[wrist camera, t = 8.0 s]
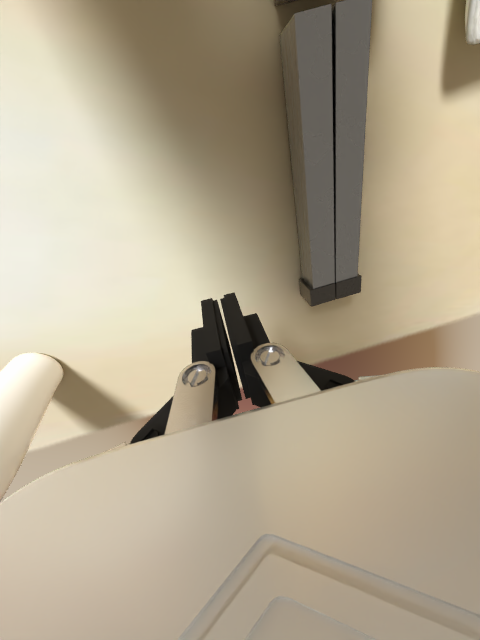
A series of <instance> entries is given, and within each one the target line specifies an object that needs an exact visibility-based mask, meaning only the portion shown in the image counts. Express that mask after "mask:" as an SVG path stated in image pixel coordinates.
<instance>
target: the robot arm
mask: <svg viewBox="0 0 480 640" xmlns="http://www.w3.org/2000/svg"><path fill="white" fill-rule="evenodd" d="M220 300H221V304H222V308H223V313H224V317H225V321H226V325H227V330H228V334H229V338H230V342H231V346H232V350H233V354H234V357H235V361H236V365H237V368H238V372H239V376H240V379H241V383H242V386H243V390H244V394H245V397H246V399H247V398H250V397H251V400H252V404H253V405H257V406H259V407H261V408H257V409H254V410H250V411H246V412H243V413H239V414H236V415H233V413H234V412H235V411H236V409H239V406H238V401H240V400H242V397H241V393H240V388H239V384H238V380H237V375H236V371H235V366H234V362H233V358H232V353H231V349H230V345H229V341H228V338H227V334H226V330H225V327H224V323H223V320H222V316H221V313H220V309H219V305H218V302H217V300H215V301H213V300H212V298H211V299H207V300H203V301H201V306H202V317H203V327H202V328H198V329H194V330H192V332H191V335H192V364H190V365H188V366H187V367H185V368H184V369H183V370H182V371H181V373H180V374H179V377H178V380H177V384H176V389H175V393H174V396H173V397H172V398H171V399H170V400H169V401H168V402H167V403H166V404H165V405H164V406H163V407H162V408H161V409H160V410H159V411H158V412H157V413H156V414H155V415H154V416H153V417H152V418H151V419H150V420H149V421H148V422H147V424H145V426H144V427H143V428H142V429H141V430H140V431H139V432H138V433H137V434H136V435H135V436H134V438H133V439H132V441H131V443H129V444H126V443H125V442H124V443H122V444H120V445H118V446H116V447H114V448H112V449H109V450H107V451H105V452H104V453H101V454H97V455H94V456H91V457H88V458H85V459H82V460H79V461H76V462H73V463H71V464H68V465H66V466H64V467H61V468H58V469H56V470H54V471H52V472H50V473H48V474H46V475H44V476H42V477H40V478H38V479H36V480H34V481H33V482H31V483H29V484H27V485H26V486H24V487H23V488H21V489H19V490H18V491H16V492H15V493H13V494H12V495H10V496H9V497H8V498H6V499H5V500H4V501H2V502H1V503H0V640H480V372H478V371H474V370H468V369H461V368H443V367H434V368H418V369H411V370H404V371H398V372H394V373H390V374H385V375H379V376H364V377H359V380H355V381H354V380H353V379H351V378H349V377H347V376H344V375H341V374H338V373H335V372H331V371H328V370H325V369H322V368H318V367H315V366H312V365H309V364H305V363H302V362H299V361H296V359H295V358H294V357H293V356H292V355H291V353H290V352H289V351H288V350H287V348H285V347H284V346H283V345H281V344H278V343H270V341H269V339H268V337H267V335H266V333H265V331H264V328H263V326H262V324H261V322H260V320H259V317H258V315H257V314H256V313H255V314H251V315H248V316H244V317H243V315H242V312H241V309H240V306H239V304H238V301H237V298H236V295H235V293H230V294H226V295H224V298H223V299H220Z"/></svg>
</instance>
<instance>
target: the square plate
mask: <svg viewBox="0 0 480 640" xmlns="http://www.w3.org/2000/svg"><path fill="white" fill-rule="evenodd" d="M465 30H466V41H467V44H471V45H474V44H478V43H480V0H466V11H465Z"/></svg>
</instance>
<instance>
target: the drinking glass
mask: <svg viewBox="0 0 480 640" xmlns="http://www.w3.org/2000/svg"><path fill="white" fill-rule="evenodd" d="M62 378H63V369H62V367H61V365H60V364H59V363H58V362H57V361H56V360H55V359H53V358H52V357H50V356H47V355H44V354H40V353H24V354H21V355H18V356H16V357H14V358H13V359H12V360H11V361H10V362H9V363H8V364H7V365H6V366H5V367H4V368H3V369H2V370H1V371H0V501H1V500H2V498H3V496H4V495H5V493H6V491H7V490H8V488H9V486H10V484H11V483H12V481H13V479H14V477H15V475H16V473H17V471H18V469H19V468H20V466H21V464H22V461H23V459H24V457H25V455H26V453H27V451H28V449H29V447H30V444H31V442H32V440H33V438H34V436H35V433H36V431H37V429H38V427H39V425H40V422H41V420H42V418H43V416H44V414H45V412H46V410H47V407H48V405H49V403H50V401H51V399H52V397H53V395H54V393H55V390H56V389H57V387H58V385H59V384H60V382H61V380H62Z"/></svg>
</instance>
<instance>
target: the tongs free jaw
mask: <svg viewBox="0 0 480 640" xmlns="http://www.w3.org/2000/svg"><path fill="white" fill-rule="evenodd" d="M279 36H280V47H281V58H282V68H283V79H284V90H285V100H286V111H287V122H288V132H289V143H290V153H291V164H292V175H293V185H294V196H295V207H296V217H297V228H298V238H299V249H300V260H301V270H302V279H299V285H300V294H301V295H302V297H303V298H304V299H305V300H306V301H307V302H308V303H309V305H310V306H315V305H318V304H321V303H325V302H328V301H332V300H335V262H334V178H333V95H332V12H331V4H328V5H324V6H321V7H317V8H313V9H309V10H306V11H302V12H298V13H295V14H294V15H293V16H292V18H291V19H290V21H289V22H288V24H287V25H286V26H285V28H284V29H283V31H282V32H281V34H280V35H279Z"/></svg>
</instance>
